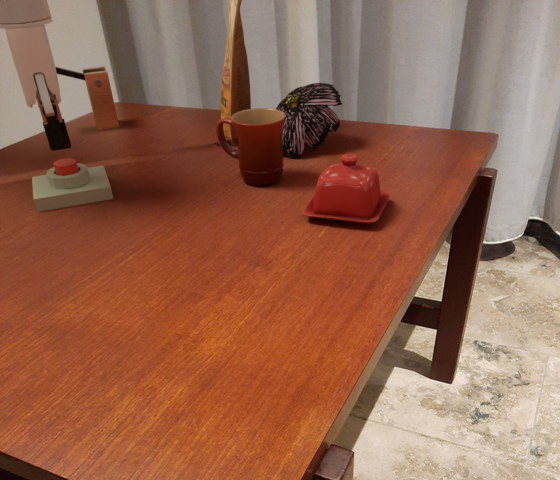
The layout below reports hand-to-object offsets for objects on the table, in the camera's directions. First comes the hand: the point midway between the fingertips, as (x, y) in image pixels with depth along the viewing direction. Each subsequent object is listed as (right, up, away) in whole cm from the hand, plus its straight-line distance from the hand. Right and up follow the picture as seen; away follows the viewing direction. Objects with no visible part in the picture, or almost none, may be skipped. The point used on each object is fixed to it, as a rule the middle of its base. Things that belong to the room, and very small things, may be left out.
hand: (61, 147), depth 88 cm
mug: (+30, -2, +7) cm, 31 cm away
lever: (-6, +22, +21) cm, 31 cm away
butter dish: (+45, -11, -3) cm, 47 cm away
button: (0, -3, +3) cm, 4 cm away
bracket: (-1, +15, +29) cm, 33 cm away
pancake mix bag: (+27, +13, +26) cm, 40 cm away
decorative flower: (+39, +8, +18) cm, 44 cm away
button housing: (0, -6, +5) cm, 8 cm away
